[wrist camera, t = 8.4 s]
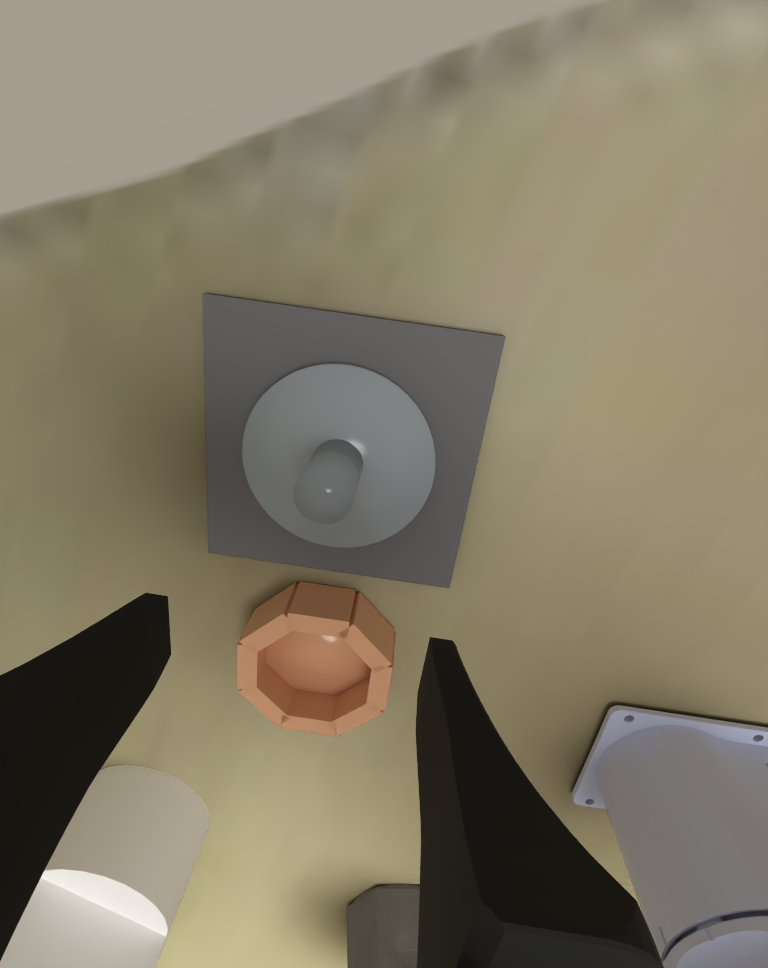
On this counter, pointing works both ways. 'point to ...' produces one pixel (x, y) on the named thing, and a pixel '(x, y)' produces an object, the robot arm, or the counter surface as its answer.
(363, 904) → the coffeepot
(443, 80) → the counter surface
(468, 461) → the mat
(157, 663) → the robot arm
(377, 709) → the bowl
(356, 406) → the lid
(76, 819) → the cylinder with rectangular tab
